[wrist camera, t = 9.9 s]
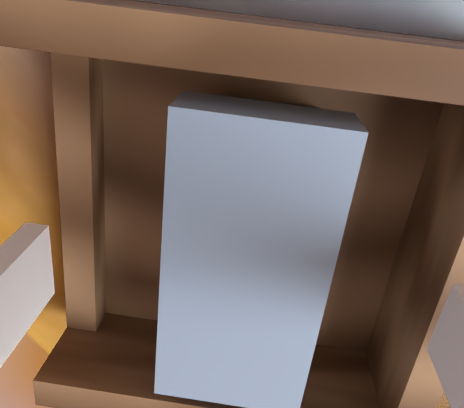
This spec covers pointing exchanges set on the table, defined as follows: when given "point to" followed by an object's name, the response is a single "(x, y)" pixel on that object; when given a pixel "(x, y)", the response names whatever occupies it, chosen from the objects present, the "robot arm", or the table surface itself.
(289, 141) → the shelf board
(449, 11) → the table surface
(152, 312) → the wooden tray
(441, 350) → the robot arm
